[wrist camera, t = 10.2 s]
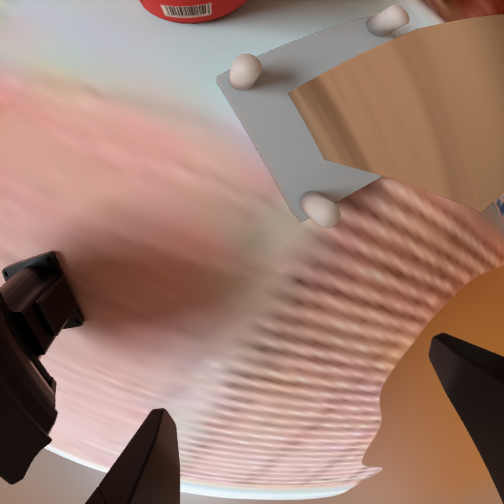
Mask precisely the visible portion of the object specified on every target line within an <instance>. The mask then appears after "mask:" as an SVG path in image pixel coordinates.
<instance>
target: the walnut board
mask: <svg viewBox="0 0 504 504" xmlns="http://www.w3.org/2000/svg"><path fill="white" fill-rule="evenodd" d="M288 95H289V96H290V98H291V100H292V101H293V103H294V105H295V107H296V108H297V110H298V112H299V114H300V115H301V117H302V119H303V121H304V122H305V124H306V126H307V128H308V130H309V132H310V133H311V135H312V137H313V139H314V141H315V143H316V145H317V147H318V148H319V150H320V152H321V154H322V156H323V158H324V160H326V161H330V162H334V163H338V164H342V165H346V166H349V167H353V168H356V169H360V170H363V171H367V172H370V173H374V174H377V175H380V176H384V177H387V178H390V179H393V180H396V181H399V182H402V183H405V184H408V185H411V186H414V187H417V188H420V189H423V190H426V191H428V192H431V193H434V194H437V195H439V196H442V197H445V198H447V199H450V200H452V201H455V202H458V203H460V204H463V205H465V206H467V207H470V208H472V209H475V210H477V211H479V212H482V211H483V210H484V209H486V208H487V207H488V206H489V205H490V204H492V203H493V202H494V201H495V200H496V199H497V198H498V197H500V196H501V195H502V194H503V193H504V14H503V15H493V16H484V17H476V18H470V19H463V20H458V21H452V22H447V23H442V24H437V25H433V26H428V27H424V28H420V29H417V30H414V31H412V32H409V33H407V34H404V35H402V36H399V37H397V38H395V39H392V40H390V41H388V42H385V43H383V44H381V45H379V46H377V47H374V48H372V49H370V50H368V51H366V52H364V53H362V54H360V55H357V56H355V57H353V58H351V59H349V60H347V61H345V62H343V63H341V64H339V65H338V66H336V67H334V68H332V69H330V70H328V71H326V72H324V73H322V74H321V75H319V76H317V77H315V78H313V79H312V80H310V81H308V82H306V83H304V84H303V85H301V86H299V87H298V88H296V89H294V90H292V91H291V92H289V93H288Z"/></svg>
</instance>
